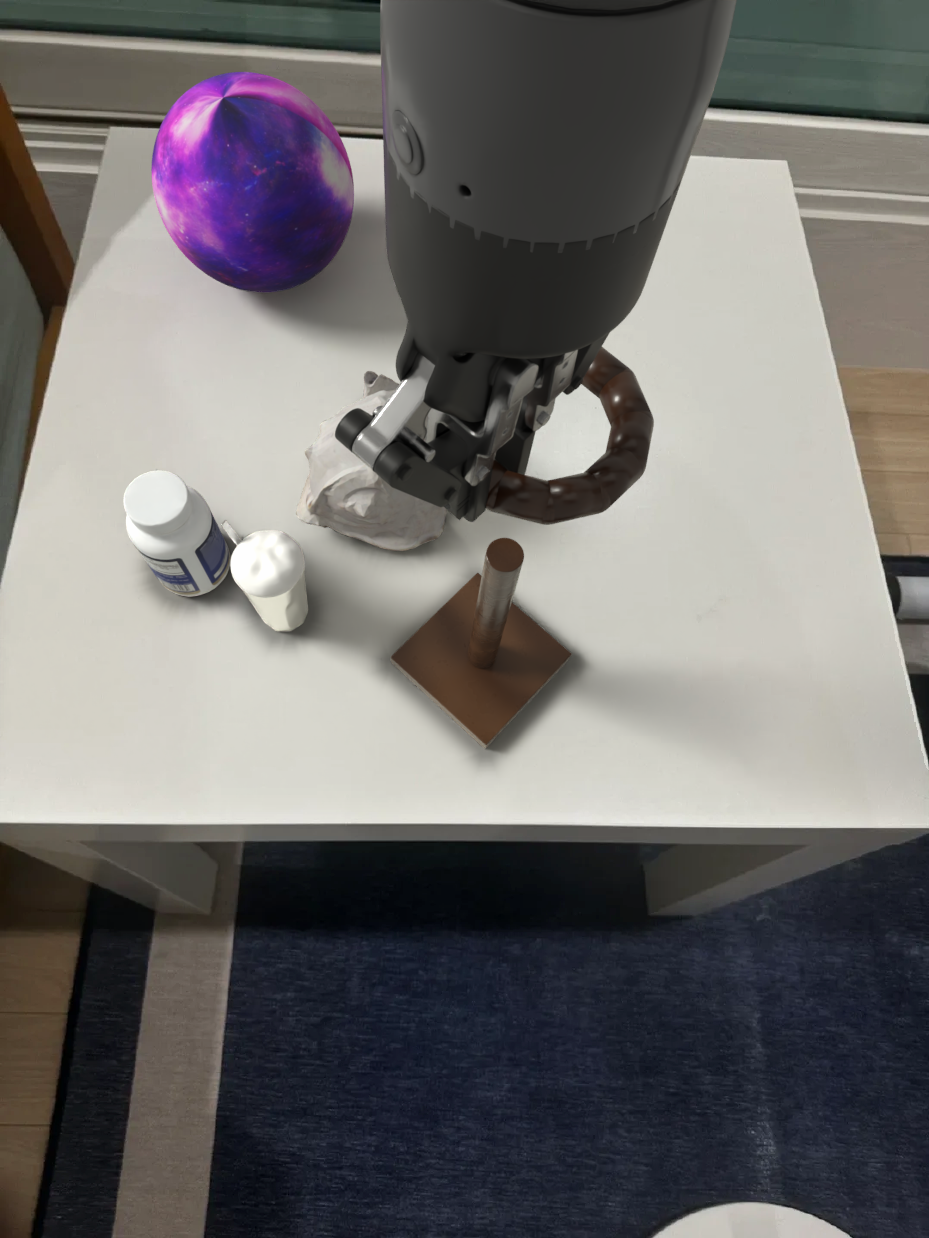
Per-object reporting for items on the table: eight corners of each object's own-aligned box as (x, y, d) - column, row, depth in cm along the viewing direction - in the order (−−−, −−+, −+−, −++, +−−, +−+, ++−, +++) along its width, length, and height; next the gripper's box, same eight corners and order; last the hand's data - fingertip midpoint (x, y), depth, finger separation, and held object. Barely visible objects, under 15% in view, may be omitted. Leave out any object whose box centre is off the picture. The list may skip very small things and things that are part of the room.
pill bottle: (210, 518, 63) (176, 445, 54) (244, 575, 62) (216, 509, 53) (142, 553, 62) (96, 484, 53) (176, 611, 60) (134, 550, 51)
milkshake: (272, 564, 62) (247, 495, 53) (330, 605, 61) (315, 542, 52) (230, 610, 61) (197, 548, 51) (289, 653, 60) (266, 597, 50)
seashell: (422, 388, 69) (424, 299, 59) (473, 538, 64) (483, 467, 55) (272, 420, 67) (249, 333, 57) (312, 577, 62) (295, 510, 53)
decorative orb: (181, 198, 74) (129, 23, 61) (354, 193, 76) (341, 22, 62) (178, 336, 69) (119, 180, 55) (364, 329, 70) (352, 174, 56)
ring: (530, 311, 40) (536, 283, 39) (687, 437, 38) (701, 413, 37) (384, 429, 37) (383, 404, 36) (547, 572, 35) (554, 552, 34)
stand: (476, 578, 63) (498, 449, 47) (569, 659, 61) (625, 553, 45) (390, 662, 60) (382, 555, 44) (484, 749, 58) (512, 670, 42)
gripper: (455, 370, 18) (431, 652, 34) (825, 62, 22) (647, 443, 38) (212, 172, 19) (300, 532, 35) (601, -79, 23) (521, 344, 39)
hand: (480, 484), depth 36 cm, fingers closed on ring, 2 cm apart
